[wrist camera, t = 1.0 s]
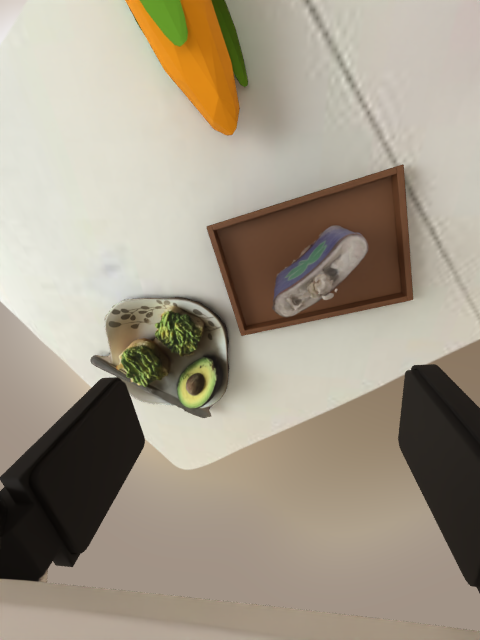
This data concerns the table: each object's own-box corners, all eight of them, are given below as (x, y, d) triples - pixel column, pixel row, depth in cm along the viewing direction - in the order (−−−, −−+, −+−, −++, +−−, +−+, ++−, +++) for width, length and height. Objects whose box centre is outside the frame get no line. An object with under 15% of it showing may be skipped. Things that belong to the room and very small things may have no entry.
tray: (396, 166, 26) (403, 164, 24) (406, 294, 31) (413, 300, 29) (210, 225, 30) (206, 226, 29) (243, 329, 35) (241, 336, 33)
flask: (334, 219, 28) (363, 228, 18) (352, 240, 29) (389, 260, 19) (269, 279, 32) (265, 314, 22) (286, 297, 32) (289, 338, 22)
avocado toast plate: (108, 399, 43) (89, 420, 39) (84, 289, 36) (57, 301, 32) (230, 411, 41) (224, 436, 36) (229, 297, 33) (222, 311, 29)
